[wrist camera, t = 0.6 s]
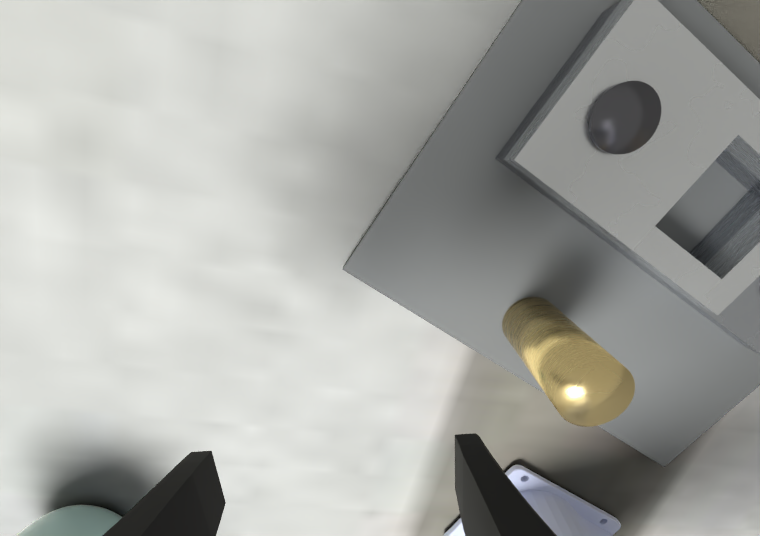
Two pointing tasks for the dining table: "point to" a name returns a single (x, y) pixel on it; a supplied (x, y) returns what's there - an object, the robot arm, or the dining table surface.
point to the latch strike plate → (652, 155)
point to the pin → (568, 363)
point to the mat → (558, 239)
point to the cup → (73, 522)
